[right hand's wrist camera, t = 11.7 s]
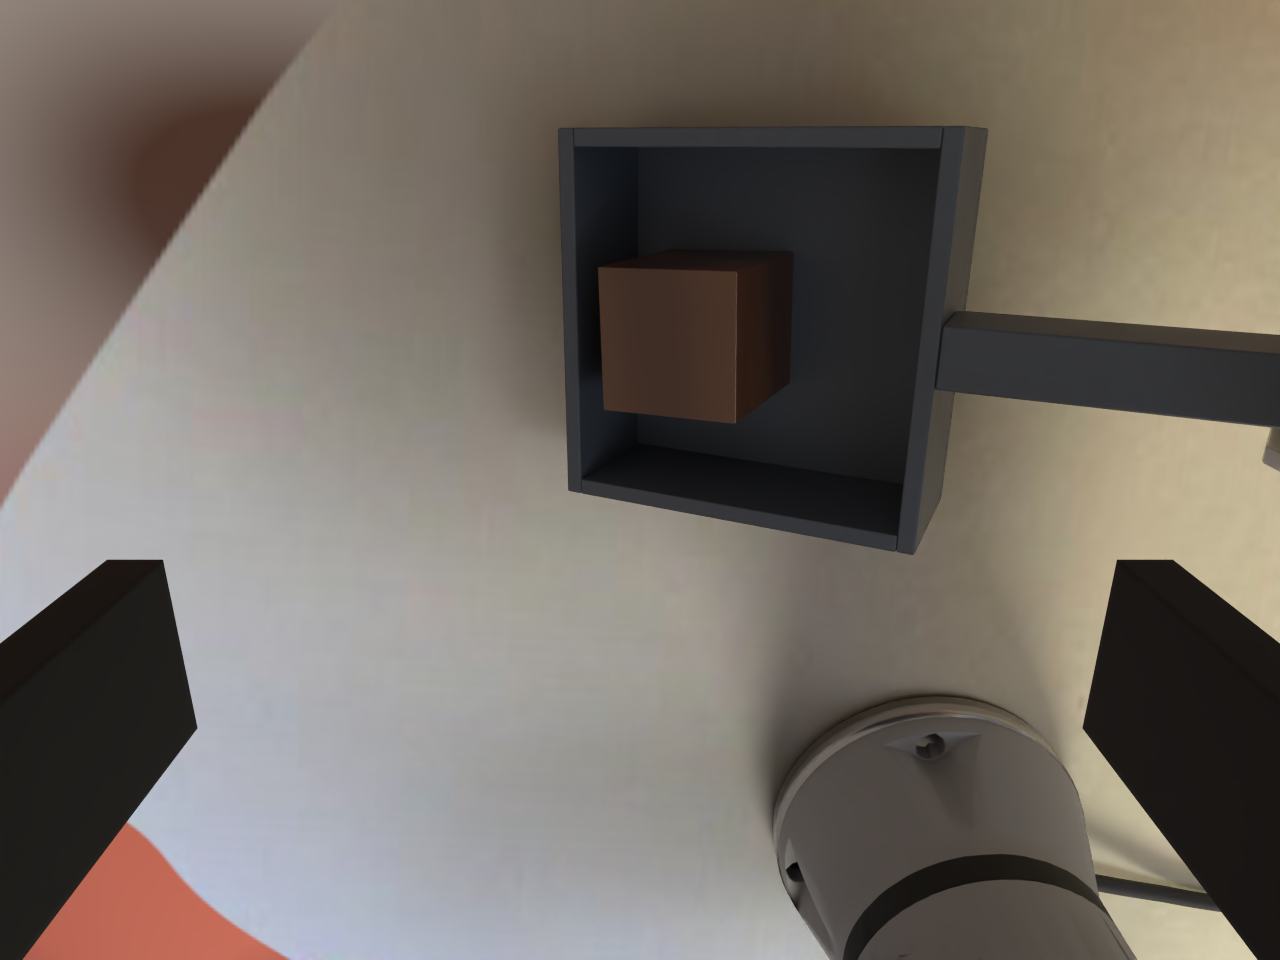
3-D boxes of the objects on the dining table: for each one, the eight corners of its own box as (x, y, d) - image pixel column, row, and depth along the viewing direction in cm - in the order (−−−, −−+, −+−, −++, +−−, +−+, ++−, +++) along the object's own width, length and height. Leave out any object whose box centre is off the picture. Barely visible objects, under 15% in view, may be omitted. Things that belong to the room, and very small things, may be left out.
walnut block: (794, 251, 33) (737, 271, 28) (789, 383, 35) (735, 424, 30) (670, 248, 35) (597, 266, 30) (672, 373, 37) (603, 410, 32)
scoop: (1534, 126, 24) (1637, 122, 19) (1388, 570, 29) (1443, 655, 24) (631, 129, 35) (557, 127, 30) (631, 449, 40) (567, 491, 35)
